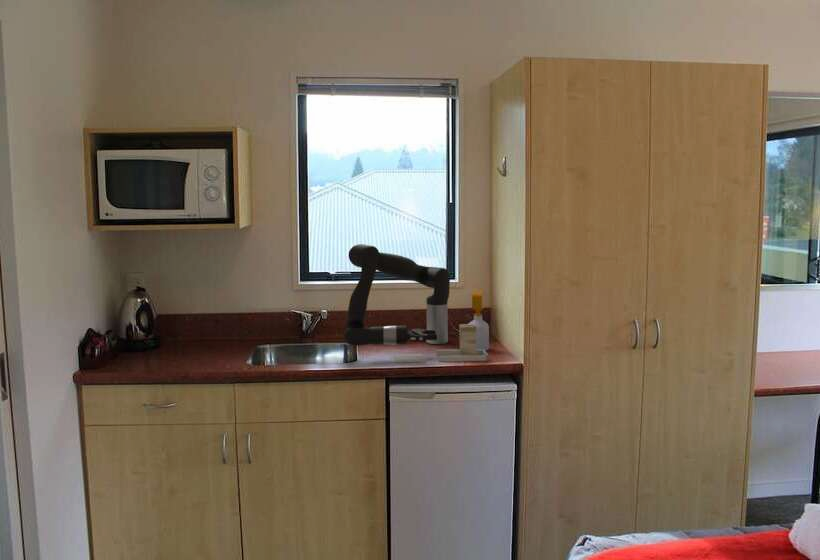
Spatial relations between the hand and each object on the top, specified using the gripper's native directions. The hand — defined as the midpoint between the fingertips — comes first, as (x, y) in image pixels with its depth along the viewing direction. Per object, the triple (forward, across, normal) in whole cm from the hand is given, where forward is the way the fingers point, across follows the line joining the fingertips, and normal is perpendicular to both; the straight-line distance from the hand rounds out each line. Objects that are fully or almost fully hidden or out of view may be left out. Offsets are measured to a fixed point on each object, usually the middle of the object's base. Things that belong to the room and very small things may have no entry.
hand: (436, 335), depth 253 cm
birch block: (+13, 0, +9) cm, 16 cm away
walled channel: (+10, 0, +9) cm, 14 cm away
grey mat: (-10, 0, +10) cm, 14 cm away
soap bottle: (+19, +14, +9) cm, 25 cm away
